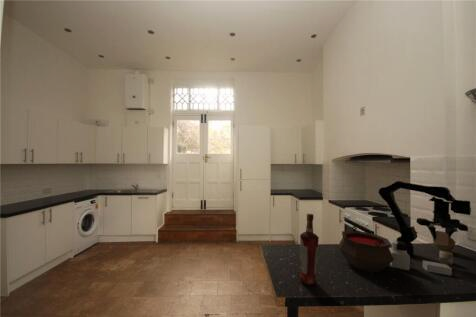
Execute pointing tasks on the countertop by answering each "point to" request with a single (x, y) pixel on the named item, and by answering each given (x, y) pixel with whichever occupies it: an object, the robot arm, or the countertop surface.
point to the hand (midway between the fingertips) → (440, 240)
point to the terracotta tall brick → (441, 238)
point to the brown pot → (365, 250)
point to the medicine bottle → (400, 255)
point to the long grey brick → (437, 268)
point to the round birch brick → (446, 257)
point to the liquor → (308, 253)
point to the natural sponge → (447, 248)
